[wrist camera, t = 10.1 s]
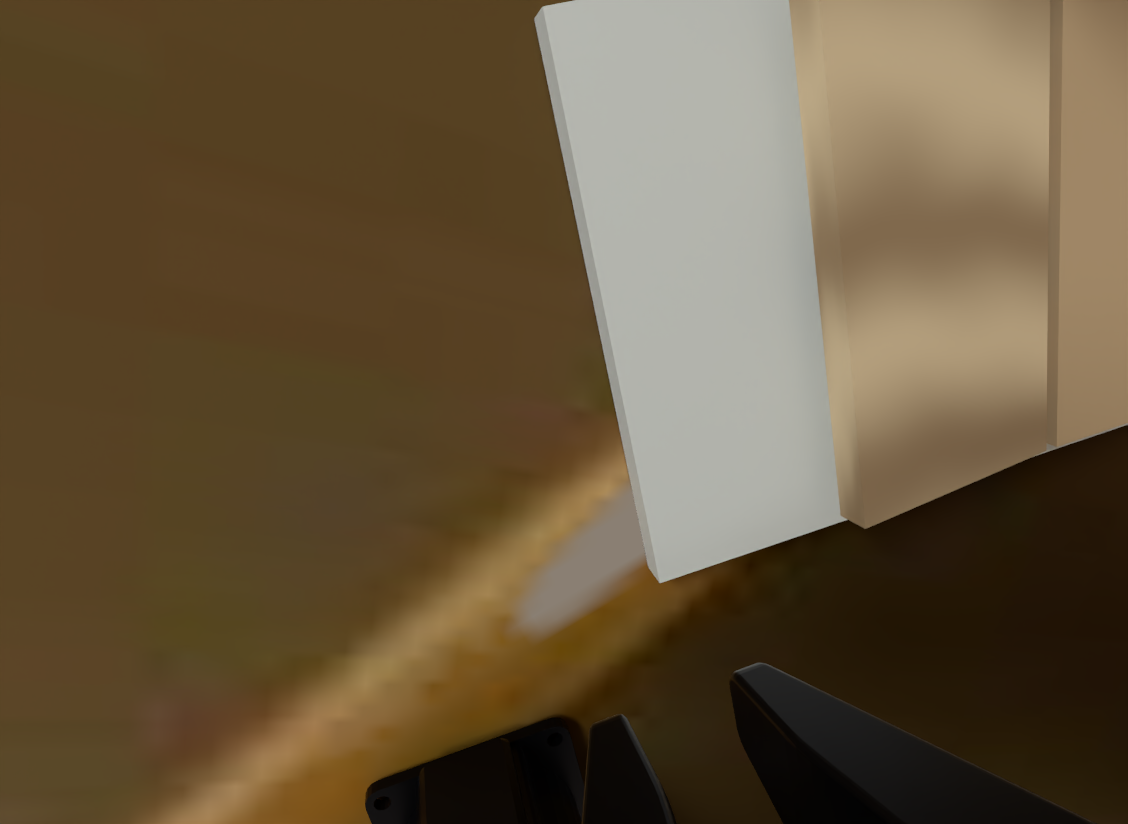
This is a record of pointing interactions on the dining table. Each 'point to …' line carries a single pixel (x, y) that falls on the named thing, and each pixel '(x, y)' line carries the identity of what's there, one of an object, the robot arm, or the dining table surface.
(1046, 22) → the click plank
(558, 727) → the robot arm
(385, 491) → the dining table surface
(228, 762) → the dining table surface
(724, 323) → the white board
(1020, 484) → the dining table surface
